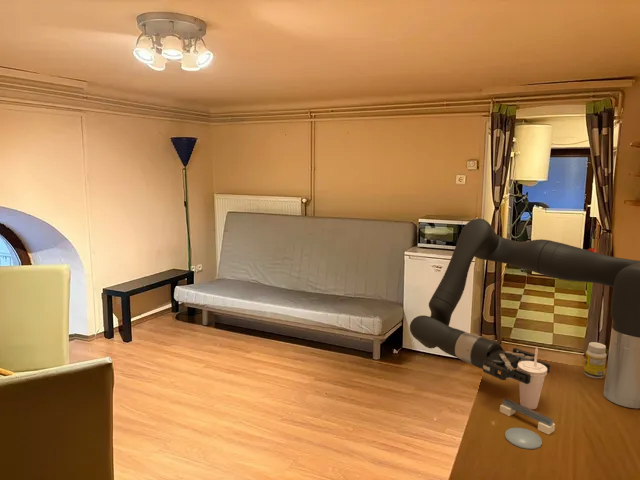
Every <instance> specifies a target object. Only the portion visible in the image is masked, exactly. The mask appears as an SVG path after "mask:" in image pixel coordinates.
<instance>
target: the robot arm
mask: <svg viewBox="0 0 640 480" xmlns="http://www.w3.org/2000/svg"><path fill="white" fill-rule="evenodd" d="M474 257H475V258H476V259H479V260H483V261H490V262H495V263H501V264H505V265H511V266H514V267H516V268H520V269H523V270H526V271H530V272H533V273H535V274H536V273H537V274H539V275H543V276H546V277H549V278H553V279H557V280H563V281H570V282H579V283H580V282H582V283H593V284H600V285H604V286H609V287H611V288H612V295H611V307H610V317H611V319H612V323H611V333H610V341H609V349H608V357H607V364H606V369H605V371H606V372H605V379H604V387H603V396H604V398H605V399H607V400H608V401H610V402H611V403H613V404H615V405H618V406H621V407H625V408H631V409H640V260H636V259H628V258H622V257H616V256H610V255H606V254H602V253H599V252H595V251H592V250H588V249H584V248H582V247H578V246H574V245H570V244H567V243H562V242H558V241H554V240H549V239H533V240H527V241H517V240H512V239H509V238H505V237H503V236H500V235H499V234H497V232H496V231H495V230H494V227H493V226H492V225H491V223H489V221H488V220H487V219H483V218H474V219H471V220H469V221H468V222H467V223H466V224H465V225H464V226H463V227H462V229H461V232H460V233H459V237H458V239H457V242H456V245H455V248H454V250H453V252H452V256H451V258H450V261H449V262H448V264H447V267H446V270H445V273H444V274H443V276H442V278H441V280H440V281H439V284H438V286H437V287H436V288H435V291H434V293H433V294H432V296H431V298H430V300H429V302H428V309H429V310H430V315H429V316H428V315H422V314H421V315H418V316H416V317H414V318H413V319H412V320H411V321H410V324H409V331H410V334H411V336H412V337H413V338H414V339H415V340H417V341H418V342H419V343H420V344H421V345H422V346H424V347H425V348H427V349H435V348H438V349H440V350H441V351H442V352H444V353H445V354H448V355H450V356H451V357H455V358H457V359H459V360H461V361H463V362H465V363H467V364H470V365H472V366H474V367H476V368H479V369H482V372H484V373H485V374H488V375H490V376H492V377H495V378H496V379H499V380H501V381H506V380H507V379H508V380H515V381H517V382H519V381H520V382H523V383H525V384H529V383H530V380H531V375H530V374H528V373H525V372H523V371H520V370H518V369H517V367H518V363H519V362H521V361H534V358H535V353H532V352H529V351H526V350H523V349H519V348H517V347H513V348H512V351H509V350H504V349H503V347H502V345H501V344H500V343H499V342H498V341H495V340H493V339H490V338H486V337H484V336H481V335H478V334H475V333H471V332H468V331H464V330H460V329H458V328H455V327H451V326H450V323H451V319H452V315H453V312H454V311H455V309H456V307H457V306H458V304H459V302H460V300H461V299H462V297H463V293H464V291H465V288H466V284H467V278H468V274H469V271H470V267H471V265H472V262H473V260H474ZM537 362H538V363H541V364H543V365H544V366H546V367H547V375H548V374H549V373H550V372H551V364H549V363H547V362H544V361H541V360H538V359H537ZM498 372H500V374H499V373H498Z"/></svg>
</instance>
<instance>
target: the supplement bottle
mask: <svg viewBox="0 0 640 480" xmlns="http://www.w3.org/2000/svg"><path fill="white" fill-rule="evenodd" d="M606 350H607V346H606V345H605V344H604V343H600V342H595V341H594V342H593V341H591V342H589V343H588V346H587V349H586V351H585V360H584V367H583V374H584V375H585V376H587V377H588V378H593V379H598V378H599V379H603V378H604V377H605V373H606V372H605V371H606V362H607V353H606Z"/></svg>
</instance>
